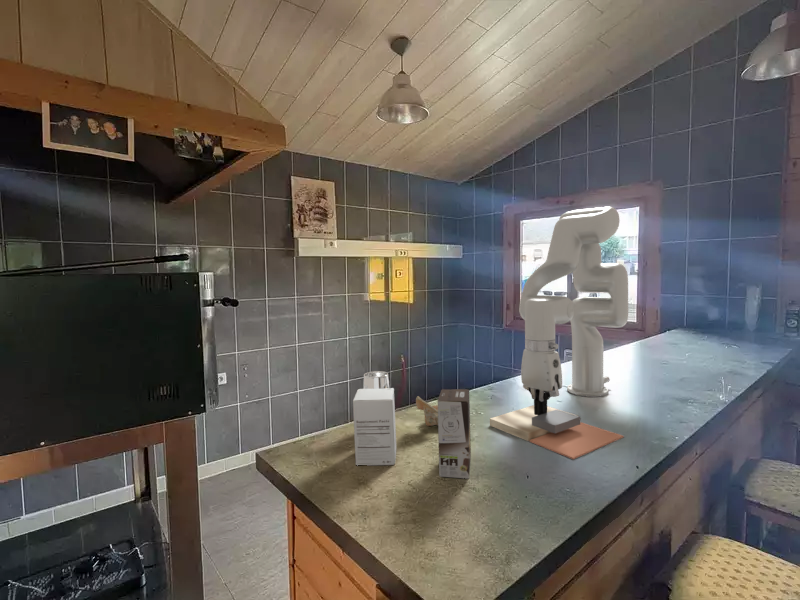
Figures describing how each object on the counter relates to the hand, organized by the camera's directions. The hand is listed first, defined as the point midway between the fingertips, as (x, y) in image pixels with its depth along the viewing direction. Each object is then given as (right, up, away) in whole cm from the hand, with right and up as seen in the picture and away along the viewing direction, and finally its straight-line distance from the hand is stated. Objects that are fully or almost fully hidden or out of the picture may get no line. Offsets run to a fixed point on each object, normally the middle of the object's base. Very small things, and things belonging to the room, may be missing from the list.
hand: (540, 414), depth 112 cm
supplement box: (-42, -6, -14) cm, 45 cm away
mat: (+6, -4, -9) cm, 11 cm away
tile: (+3, -1, -4) cm, 5 cm away
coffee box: (-25, -6, -21) cm, 33 cm away
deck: (-1, -3, +2) cm, 4 cm away
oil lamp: (-25, -4, +6) cm, 26 cm away
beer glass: (-43, -5, +3) cm, 44 cm away
